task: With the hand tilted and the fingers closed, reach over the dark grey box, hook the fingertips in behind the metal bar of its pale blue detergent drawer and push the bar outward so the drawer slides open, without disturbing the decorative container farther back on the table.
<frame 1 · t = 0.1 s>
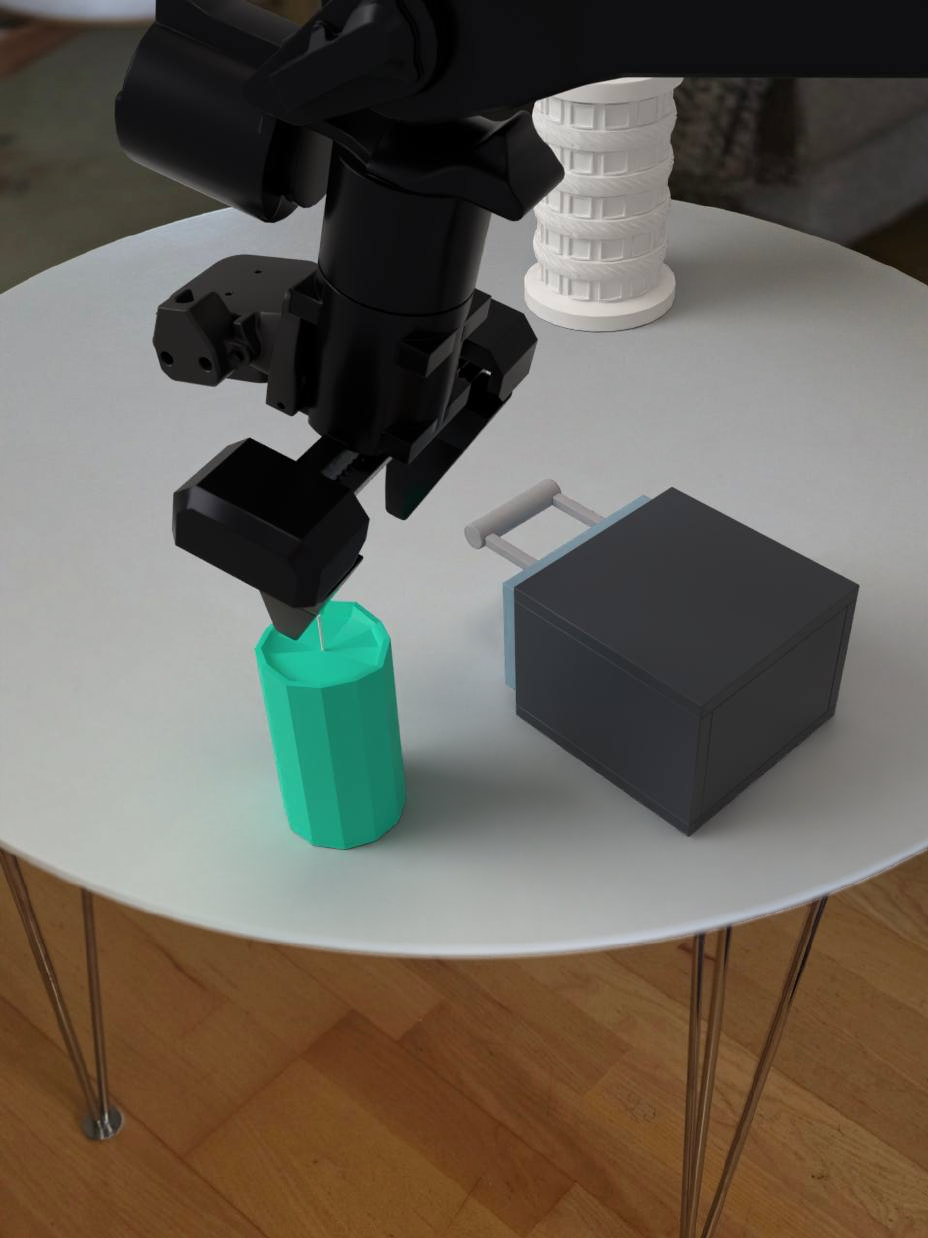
hand: (345, 571, 60), 13 cm above the table, tool pointing down, fingers open, 9 cm apart
dispenser drawer: (611, 611, 70), point 4 cm above the table, slide at 0.2 cm
decorative container: (599, 297, 106), on the table
dark grey box: (674, 714, 71), on the table
candle: (345, 804, 67), on the table
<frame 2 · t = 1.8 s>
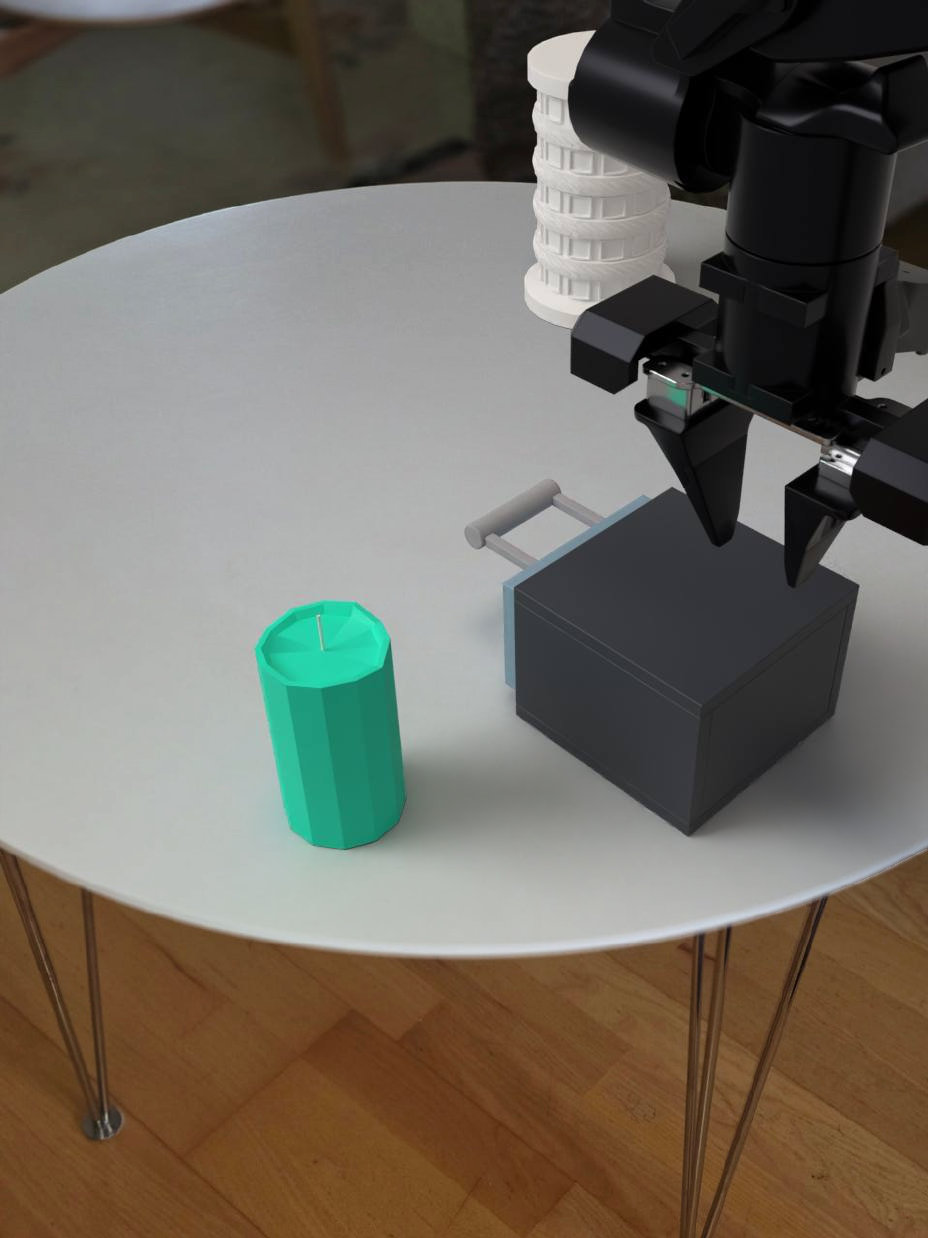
hand: (759, 562, 61), 12 cm above the table, tool pointing down, fingers open, 4 cm apart
nothing on the table moved.
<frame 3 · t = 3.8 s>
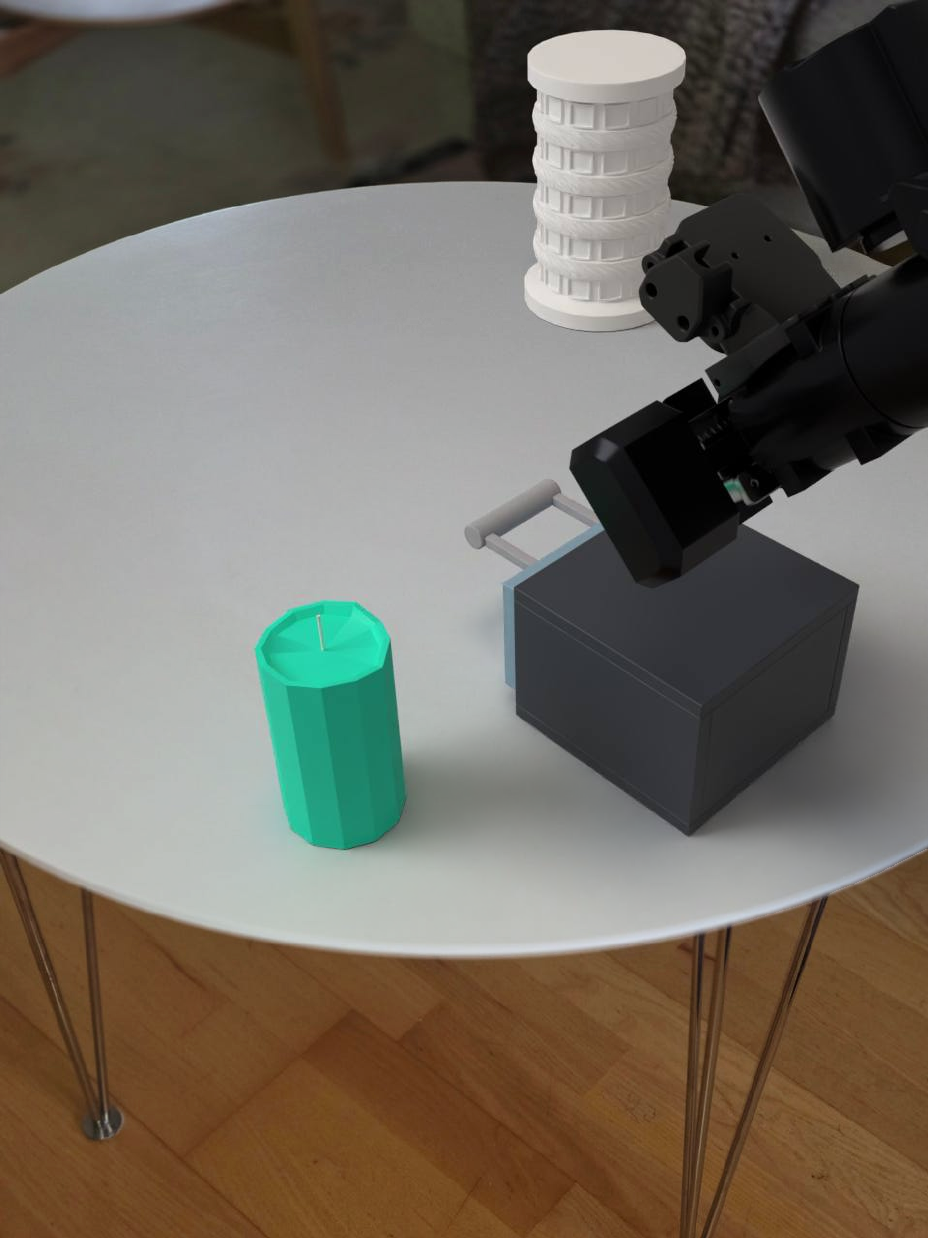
hand: (653, 482, 63), 13 cm above the table, tool tilted 45°, fingers closed
nothing on the table moved.
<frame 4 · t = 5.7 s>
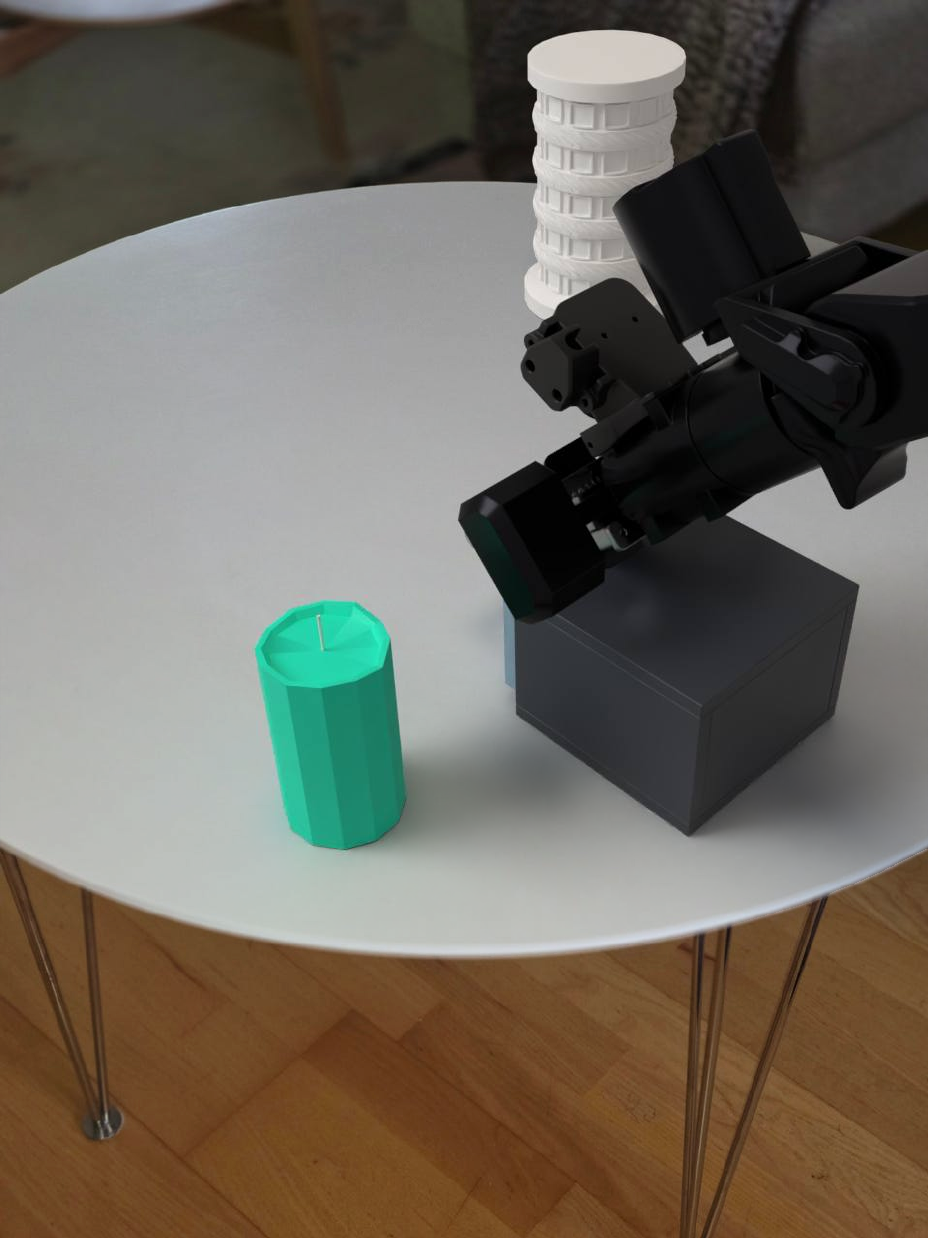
hand: (548, 521, 71), 8 cm above the table, tool tilted 45°, fingers closed, pressing on dark grey box
nothing on the table moved.
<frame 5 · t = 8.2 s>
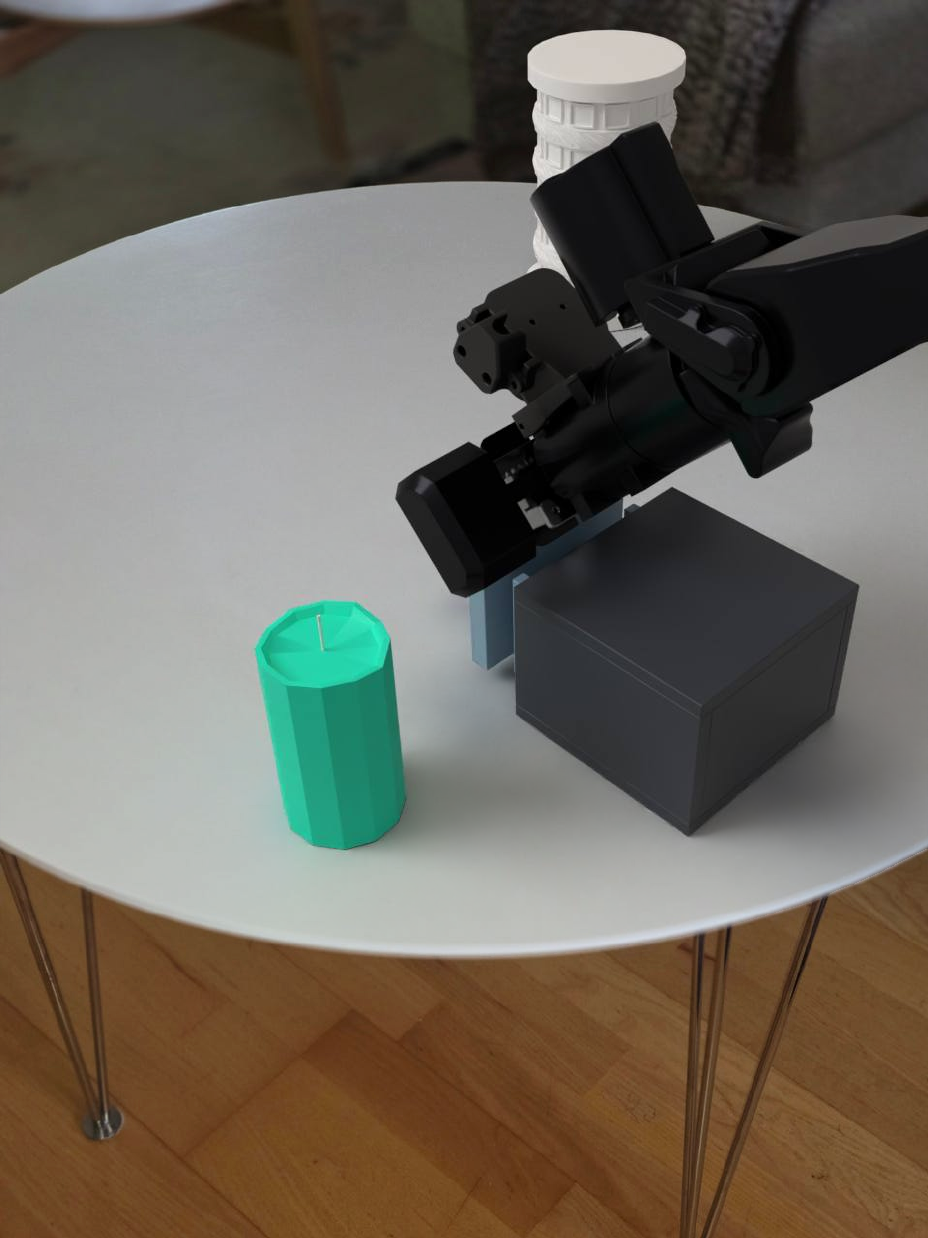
hand: (493, 505, 74), 7 cm above the table, tool tilted 45°, fingers closed
dispenser drawer: (576, 589, 72), point 4 cm above the table, slide at 2.7 cm, touching gripper
everything else where it was.
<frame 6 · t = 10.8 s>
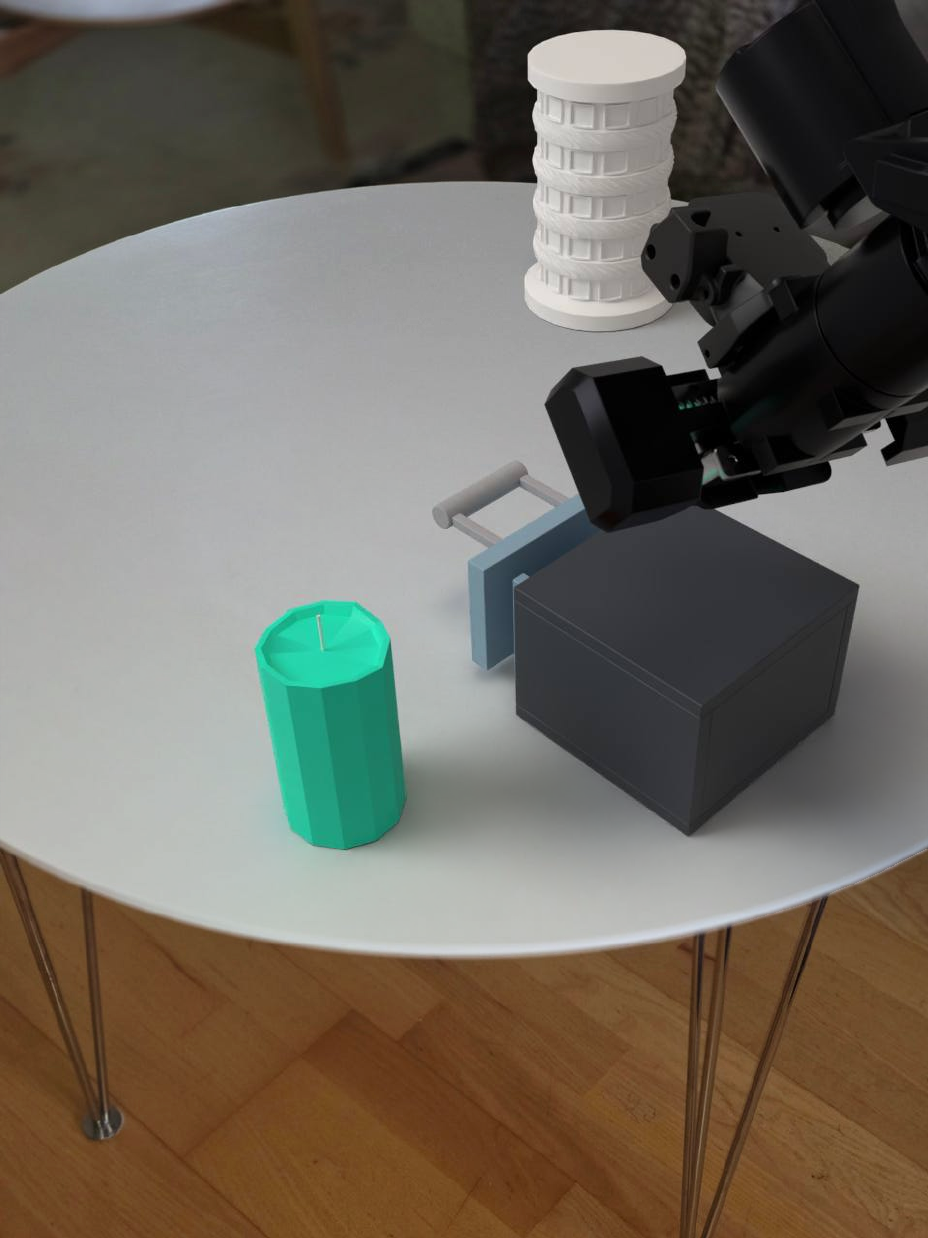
hand: (660, 494, 63), 13 cm above the table, tool tilted 40°, fingers closed
dispenser drawer: (576, 589, 72), point 4 cm above the table, slide at 2.7 cm
everything else where it was.
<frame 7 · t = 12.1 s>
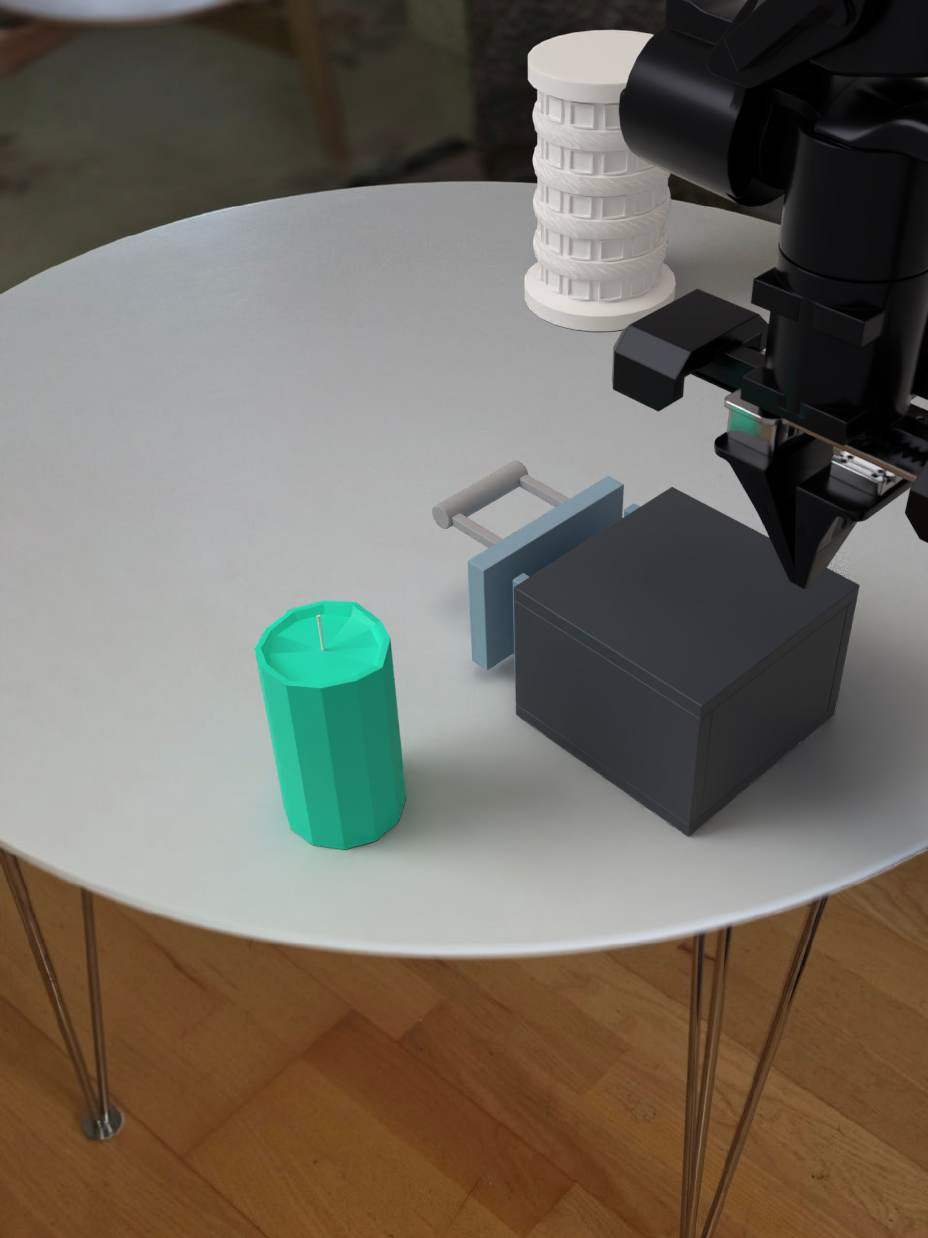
hand: (804, 581, 60), 12 cm above the table, tool pointing down, fingers closed
nothing on the table moved.
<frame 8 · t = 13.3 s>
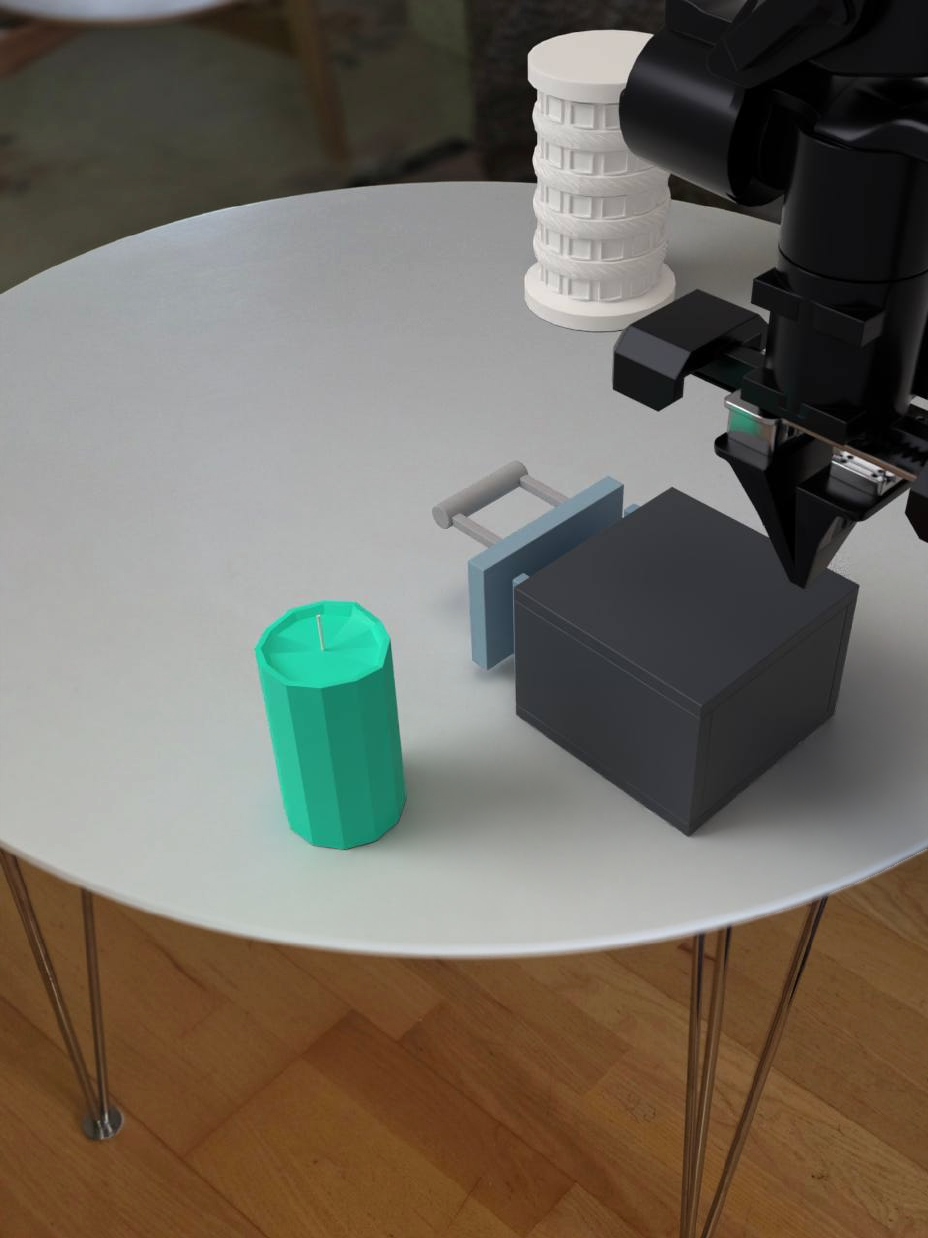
hand: (804, 581, 60), 12 cm above the table, tool pointing down, fingers closed
nothing on the table moved.
at the end: dispenser drawer slide at 2.7 cm; decorative container moved 0.2 cm from its start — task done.
